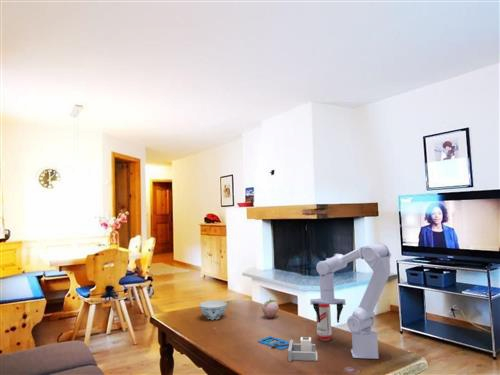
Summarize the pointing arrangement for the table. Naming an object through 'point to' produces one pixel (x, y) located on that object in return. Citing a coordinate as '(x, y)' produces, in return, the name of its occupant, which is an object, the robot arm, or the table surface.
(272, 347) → the dark gray rod
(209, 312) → the chinaware
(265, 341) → the handheld gaming device
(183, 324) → the table surface
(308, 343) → the block
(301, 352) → the dock
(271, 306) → the decorative fruit
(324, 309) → the beer can
